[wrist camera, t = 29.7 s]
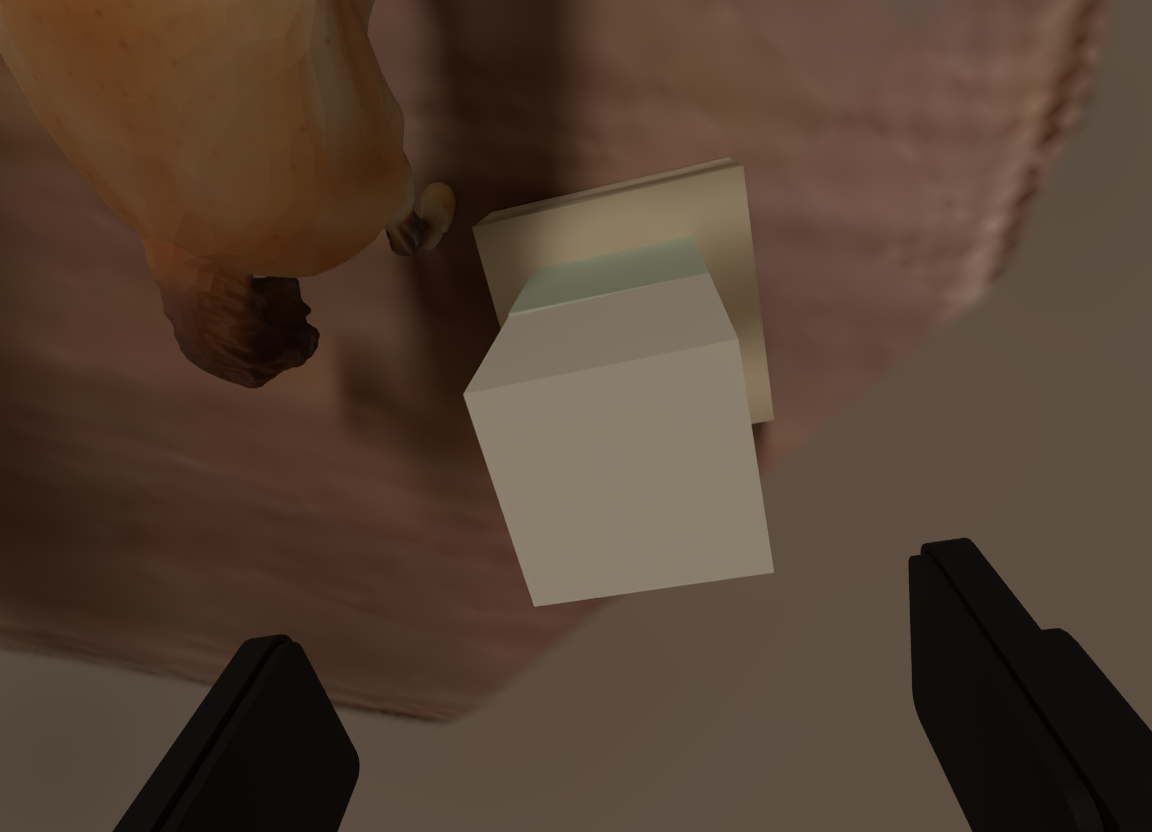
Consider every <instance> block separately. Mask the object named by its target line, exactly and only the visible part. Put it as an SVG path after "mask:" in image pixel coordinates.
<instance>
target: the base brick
mask: <svg viewBox="0 0 1152 832" xmlns="http://www.w3.org/2000/svg"><path fill="white" fill-rule="evenodd" d="M472 230H473V233H474V237H475V240H476V244H477V247H478V251H479V255H480V258H481V262H482V265H483V269H484V272H485V276H486V279H487V283H488V286H489V290H490V293H491V297H492V300H493V304H494V307H495V311H496V314H497V318H498V321H499V325H500V329H502V327H503V325H504V324H505V322H506V320H507V319H508V317H509V315H508V313H509V312H510V310H511V308H512V307H513V305H514V303H515V301H516V300H517V298H518V296H519V295H520V293H521V291H522V290H523V288H524V286H525V285H526V283H527V281H528V280H529V278H530V276H531V275H532V273H533V271H534V270H535V269H538V268H543V267H547V266H552V265H557V264H561V263H566V262H571V261H575V260H580V259H585V258H589V257H594V256H599V255H604V254H608V253H613V252H618V251H622V250H627V249H632V248H636V247H641V246H646V245H650V244H655V243H660V242H664V241H669V240H674V239H678V238H683V237H688V236H693V238H694V240H695V242H696V244H697V247H698V249H699V251H700V253H701V256H702V258H703V260H704V262H705V265H706V267H707V269H708V271H709V274H710V276H711V278H712V281H713V283H714V285H715V288H716V290H717V292H718V294H719V297H720V299H721V301H722V303H723V306H724V308H725V310H726V312H727V315H728V317H729V319H730V321H731V324H732V326H733V328H734V330H735V333H736V335H737V337H738V340H739V347H740V353H741V360H742V366H743V373H744V380H745V386H746V393H747V399H748V406H749V412H750V419H751V424H754V423H760V422H766V421H772V420H774V416H773V408H772V399H771V391H770V383H769V375H768V366H767V358H766V350H765V342H764V333H763V325H762V317H761V309H760V301H759V292H758V284H757V276H756V268H755V259H754V251H753V243H752V235H751V226H750V218H749V210H748V202H747V193H746V185H745V177H744V169H743V165H742V164H740V163H738V162H736V161H735V160H733V159H731V158H729V157H727V158H722V159H718V160H714V161H709V162H705V163H701V164H697V165H692V166H688V167H684V168H679V169H675V170H671V171H666V172H662V173H658V174H653V175H649V176H645V177H640V178H636V179H632V180H628V181H623V182H619V183H615V184H610V185H606V186H602V187H597V188H593V189H589V190H584V191H580V192H576V193H571V194H567V195H563V196H559V197H554V198H550V199H546V200H541V201H537V202H533V203H528V204H524V205H520V206H515V207H511V208H507V209H502V210H498V211H494V212H491V213H490V214H489V215H487V216H486V217H485V218H484V219H482V220H481V221H480V222H478V223H477V224H476V225H475V226H473V227H472Z"/></svg>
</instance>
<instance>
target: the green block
mask: <svg viewBox="0 0 1152 832" xmlns="http://www.w3.org/2000/svg"><path fill="white" fill-rule="evenodd" d="M705 273H709V271H708V269H707V267H706V265H705V262H704V260H703V258H702V256H701V253H700V251H699V249H698V247H697V244H696V242H695V240H694V238H693V236H688V237H683V238H678V239H674V240H669V241H664V242H660V243H655V244H650V245H646V246H641V247H636V248H632V249H627V250H622V251H618V252H613V253H608V254H604V255H599V256H594V257H589V258H585V259H580V260H575V261H571V262H566V263H561V264H557V265H552V266H547V267H543V268H538V269H535V270H534V271H533V273H532V275H531V276H530V278H529V280H528V281H527V283H526V285H525V286H524V288H523V290H522V291H521V293H520V295H519V296H518V298H517V300H516V301H515V303H514V305H513V307H512V308H511V310H510V312H509V313H508V315H509V316H513V315H518V314H522V313H527V312H531V311H536V310H540V309H545V308H549V307H554V306H559V305H563V304H568V303H572V302H577V301H581V300H586V299H591V298H595V297H600V296H604V295H609V294H613V293H618V292H622V291H627V290H632V289H636V288H641V287H645V286H650V285H654V284H659V283H663V282H668V281H673V280H677V279H682V278H686V277H691V276H695V275H700V274H705Z"/></svg>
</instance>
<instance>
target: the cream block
mask: <svg viewBox="0 0 1152 832" xmlns="http://www.w3.org/2000/svg"><path fill="white" fill-rule="evenodd" d="M463 395H464V398H465V401H466V404H467V407H468V410H469V413H470V416H471V419H472V422H473V425H474V428H475V431H476V434H477V437H478V440H479V443H480V446H481V449H482V452H483V455H484V458H485V461H486V464H487V467H488V470H489V473H490V476H491V479H492V482H493V485H494V488H495V491H496V494H497V497H498V500H499V503H500V506H501V509H502V512H503V515H504V518H505V521H506V524H507V527H508V530H509V533H510V536H511V539H512V542H513V545H514V548H515V551H516V554H517V557H518V560H519V563H520V565H521V568H522V571H523V574H524V577H525V580H526V583H527V586H528V589H529V592H530V595H531V598H532V601H533V604H534V607H536V606H543V605H550V604H557V603H564V602H571V601H578V600H585V599H592V598H599V597H606V596H613V595H620V594H627V593H634V592H641V591H648V590H655V589H662V588H669V587H676V586H683V585H690V584H697V583H704V582H711V581H718V580H725V579H732V578H739V577H747V576H754V575H760V574H767V573H774V569H773V563H772V556H771V550H770V544H769V537H768V530H767V524H766V517H765V511H764V504H763V498H762V491H761V484H760V478H759V471H758V465H757V458H756V451H755V445H754V438H753V432H752V425H751V419H750V412H749V406H748V399H747V393H746V386H745V380H744V373H743V366H742V360H741V353H740V347H739V340H738V337H737V335H736V333H735V330H734V328H733V326H732V324H731V321H730V319H729V317H728V315H727V312H726V310H725V308H724V306H723V303H722V301H721V299H720V297H719V294H718V292H717V290H716V288H715V285H714V283H713V281H712V278H711V276H710V274H709V273H705V274H700V275H695V276H691V277H686V278H682V279H677V280H673V281H668V282H663V283H659V284H654V285H650V286H645V287H641V288H636V289H632V290H627V291H622V292H618V293H613V294H609V295H604V296H600V297H595V298H591V299H586V300H581V301H577V302H572V303H568V304H563V305H559V306H554V307H549V308H545V309H540V310H536V311H531V312H527V313H522V314H518V315H513V316H509V317H508V319H507V320H506V322H505V324H504V325H503V327H502V329H501V331H500V332H499V334H498V336H497V337H496V339H495V341H494V343H493V344H492V346H491V348H490V349H489V351H488V353H487V354H486V356H485V358H484V360H483V361H482V363H481V365H480V366H479V368H478V370H477V372H476V373H475V375H474V377H473V378H472V380H471V382H470V384H469V385H468V387H467V389H466V390H465V392H464V394H463Z"/></svg>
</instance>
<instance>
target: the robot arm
mask: <svg viewBox="0 0 1152 832" xmlns="http://www.w3.org/2000/svg"><path fill="white" fill-rule="evenodd" d="M909 593H910V594H909V595H910V627H911V628H910V630H911V660H912V661H911V662H912V693H913V699H914V704H915V708H916V711H917V714H918V717H919V720H920V722H921V724H922V726H923V728H924V730H925V732H926V735H927V737H928V739H929V741H930V743H931V745H932V747H933V749H934V752H935V754H936V755H937V758H938V760H939V762H940V764H941V766H942V768H943V770H944V773H945V775H946V777H947V779H948V781H949V783H950V785H951V787H952V789H953V792H954V794H955V796H956V798H957V800H958V802H959V804H960V806H961V808H962V811H963V813H964V815H965V817H966V819H967V821H968V823H969V825H970V827H971V830H972V832H1152V731H1151V730H1150V729H1149V728H1148V726H1147V725H1146V724H1145V723H1144V722H1143V721H1142V719H1141V718H1140V717H1139V716H1138V714H1137V713H1136V712H1135V711H1134V710H1133V709H1132V707H1131V706H1130V705H1129V704H1128V702H1127V701H1126V700H1125V699H1124V698H1123V696H1122V695H1121V694H1120V693H1119V691H1118V690H1117V689H1116V688H1115V687H1114V686H1113V685H1112V683H1111V682H1110V681H1109V679H1107V677H1106V676H1105V675H1104V673H1103V672H1102V671H1101V670H1100V669H1099V668H1098V666H1097V665H1096V664H1095V663H1094V661H1093V660H1092V659H1091V658H1090V657H1089V655H1087V653H1086V652H1085V651H1084V649H1083V648H1082V647H1081V646H1080V645H1079V643H1078V642H1077V641H1076V640H1075V639H1074V638H1073V637H1072V636H1071V635H1070V634H1069V633H1067V632H1066V631H1064V630H1062V629H1060V628H1056V629H1047V630H1041V629H1040V628H1039V626H1038V625H1037V623H1036V622H1035V621H1034V620H1033V619H1032V617H1031V616H1030V614H1029V613H1028V612H1027V611H1026V609H1025V608H1024V607H1023V606H1022V604H1021V603H1020V602H1019V600H1018V599H1017V598H1016V597H1015V595H1014V594H1013V593H1012V591H1011V590H1010V589H1009V588H1008V586H1007V585H1006V584H1005V583H1004V581H1003V580H1002V579H1001V577H1000V576H999V575H998V574H997V572H996V571H995V570H994V568H993V567H992V566H991V565H990V563H989V562H988V561H987V560H986V558H985V557H984V556H983V555H982V553H981V552H980V551H979V549H978V548H977V547H976V545H975V544H974V543H973V542H972V541H971V540H970V539H968V538H960V539H953V540H946V541H938V542H932V543H925V544H923V545H922V547H921V555H916V556H911V557H910V558H909ZM358 776H359V757H358V754H357V752H356V750H355V748H354V746H353V744H352V743H351V740H350V739H349V736H348V735H347V733H346V731H345V729H344V727H343V725H342V723H341V721H340V719H339V718H338V715H337V713H336V712H335V710H334V708H333V706H332V704H331V702H330V700H329V698H328V696H327V694H326V692H325V690H324V688H323V687H322V685H321V683H320V681H319V679H318V677H317V675H316V673H315V671H314V669H313V667H312V665H311V664H310V662H309V660H308V658H307V656H306V654H305V652H304V650H303V648H302V647H301V645H300V644H298V643H297V642H293V641H292V640H291V638H290V637H288V636H287V635H273V636H266V637H259V638H252V639H249V640H247V641H245V642H244V643H243V644H242V645H241V647H240V648H239V649H238V651H237V652H236V654H235V655H234V657H233V658H232V660H231V661H230V663H229V664H228V665H227V667H226V668H225V670H224V671H223V673H222V674H221V676H220V677H219V678H218V680H217V681H216V683H215V684H214V686H213V687H212V689H211V690H210V691H209V693H208V694H207V696H206V697H205V699H204V700H203V702H202V703H201V704H200V706H199V707H198V709H197V710H196V712H195V713H194V715H193V716H192V717H191V719H190V720H189V722H188V723H187V725H186V726H185V728H184V729H183V730H182V732H181V733H180V735H179V736H178V738H177V739H176V741H175V742H174V744H173V745H172V746H171V748H170V749H169V751H168V752H167V754H166V755H165V757H164V758H163V760H162V761H161V762H160V764H159V765H158V767H157V768H156V770H155V771H154V772H153V774H152V775H151V777H150V778H149V780H148V781H147V783H146V784H145V785H144V787H143V788H142V790H141V791H140V793H139V794H138V796H137V797H136V799H135V800H134V801H133V803H132V804H131V806H130V807H129V809H128V810H127V812H126V813H125V815H124V816H123V817H122V819H121V820H120V822H119V823H118V825H117V826H116V827H115V829H114V830H113V832H337V831H338V829H339V826H340V823H341V821H342V818H343V816H344V813H345V811H346V808H347V805H348V803H349V800H350V797H351V795H352V792H353V790H354V787H355V785H356V782H357V779H358Z"/></svg>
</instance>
